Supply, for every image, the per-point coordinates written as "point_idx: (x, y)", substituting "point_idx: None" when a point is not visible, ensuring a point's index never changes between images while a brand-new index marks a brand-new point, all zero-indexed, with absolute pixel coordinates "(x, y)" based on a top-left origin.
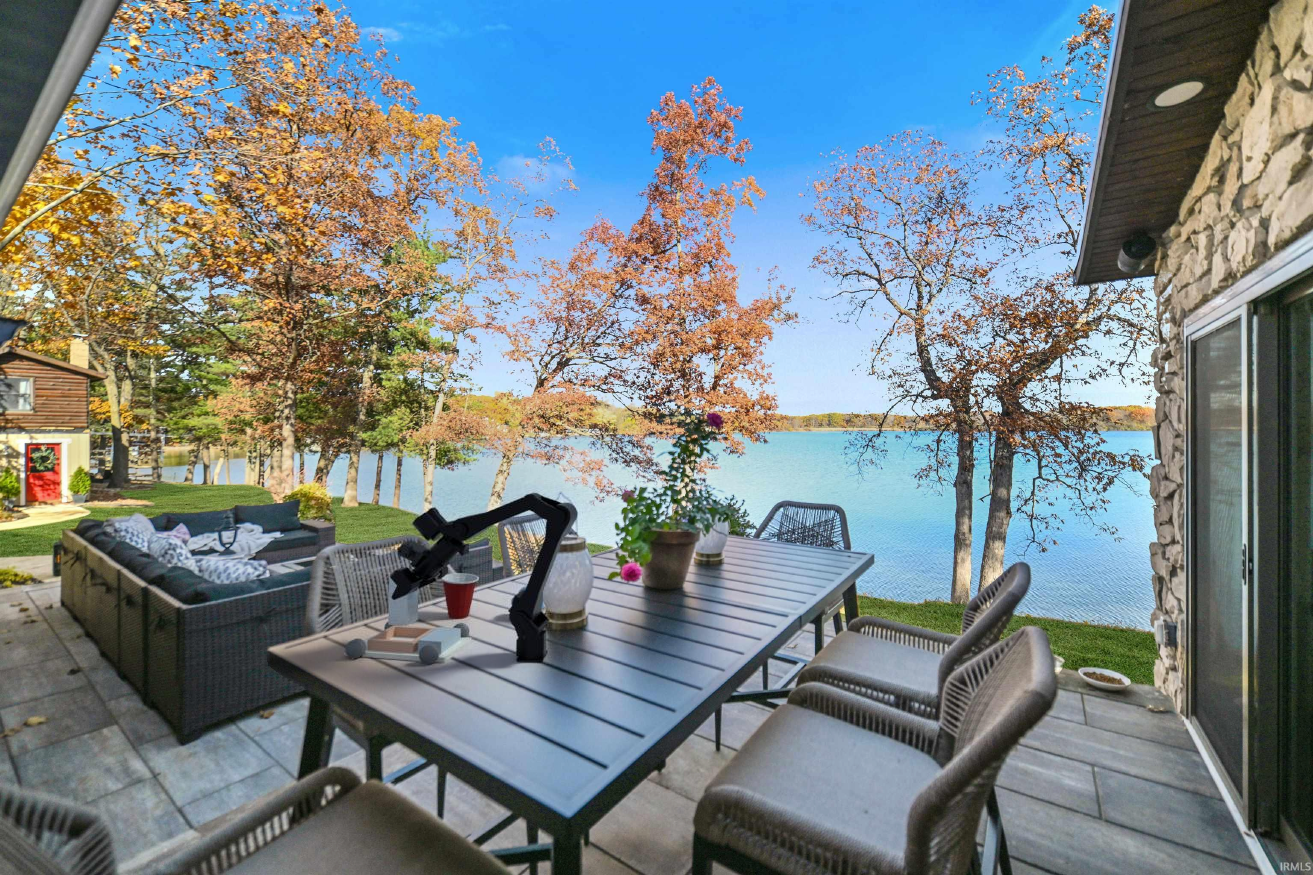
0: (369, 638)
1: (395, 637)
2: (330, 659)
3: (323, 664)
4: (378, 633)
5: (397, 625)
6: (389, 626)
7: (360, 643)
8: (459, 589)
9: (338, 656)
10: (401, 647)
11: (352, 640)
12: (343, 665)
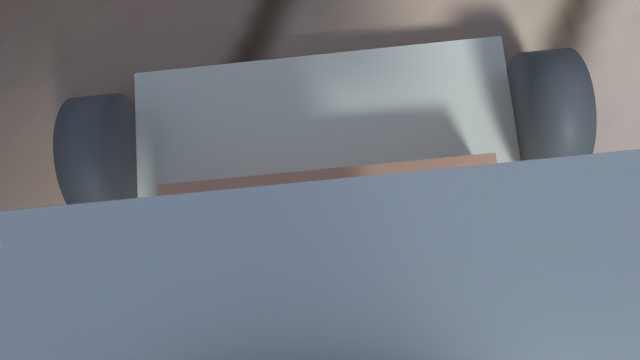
0: (364, 64)
1: None
2: (77, 53)
3: (6, 72)
4: (466, 53)
5: (537, 155)
6: (523, 92)
7: (70, 195)
8: None
9: (126, 61)
10: None
11: (63, 128)
12: (11, 188)
